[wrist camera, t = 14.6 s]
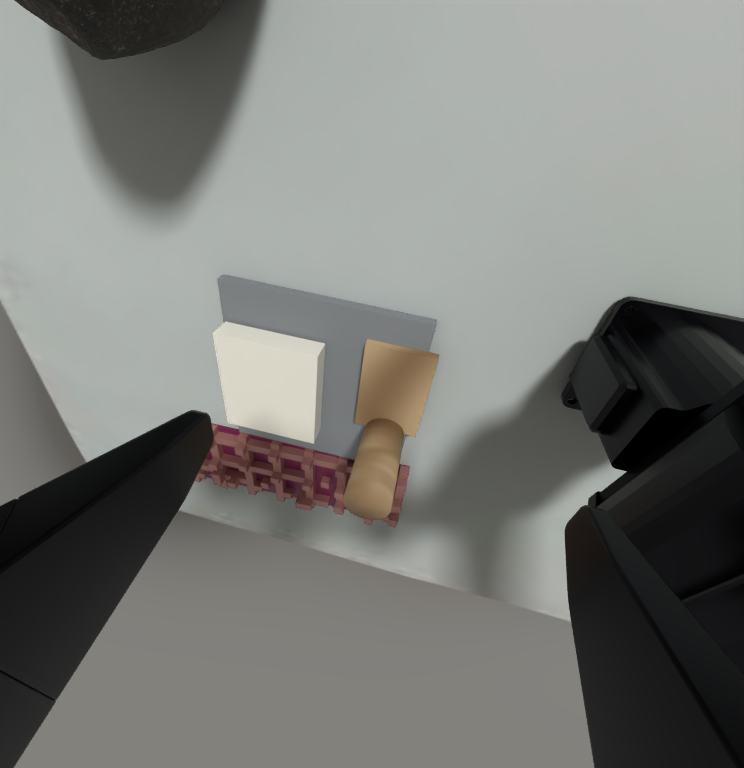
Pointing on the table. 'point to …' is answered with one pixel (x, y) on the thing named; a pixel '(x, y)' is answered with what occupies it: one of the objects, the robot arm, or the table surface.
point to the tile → (271, 380)
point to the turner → (386, 422)
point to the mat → (342, 347)
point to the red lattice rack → (286, 471)
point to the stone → (123, 22)
